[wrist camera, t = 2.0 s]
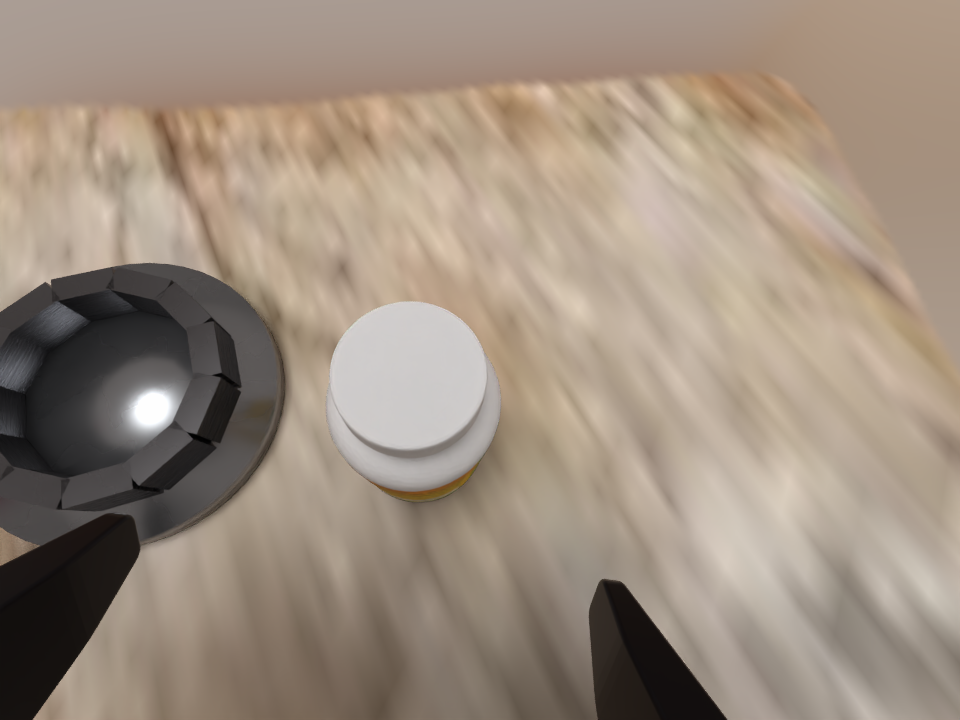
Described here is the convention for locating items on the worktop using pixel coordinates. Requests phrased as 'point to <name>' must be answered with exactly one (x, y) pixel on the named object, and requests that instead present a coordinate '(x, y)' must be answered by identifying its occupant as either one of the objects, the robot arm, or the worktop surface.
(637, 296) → the worktop surface
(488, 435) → the supplement bottle
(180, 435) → the collar holder
